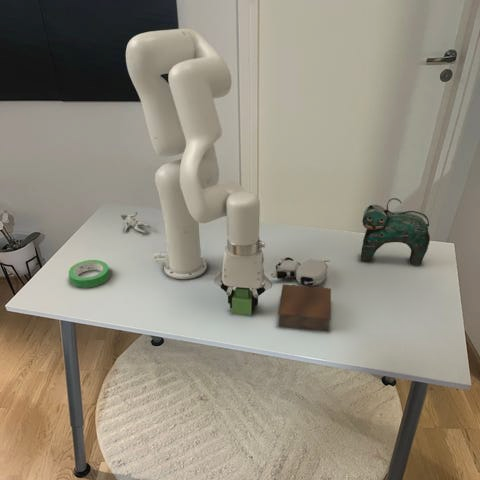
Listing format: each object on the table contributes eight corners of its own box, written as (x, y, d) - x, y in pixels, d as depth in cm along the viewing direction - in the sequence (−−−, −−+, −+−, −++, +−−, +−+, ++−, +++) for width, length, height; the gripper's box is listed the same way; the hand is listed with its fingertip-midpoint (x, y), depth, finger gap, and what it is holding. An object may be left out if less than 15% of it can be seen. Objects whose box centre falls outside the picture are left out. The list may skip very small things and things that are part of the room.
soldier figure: (138, 240, 153) (111, 222, 155) (144, 243, 157) (117, 226, 160) (151, 220, 152) (123, 202, 155) (156, 224, 157) (129, 207, 159)
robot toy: (268, 285, 131) (320, 294, 126) (268, 272, 129) (320, 280, 123) (282, 264, 140) (331, 272, 135) (282, 251, 137) (332, 258, 132)
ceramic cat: (355, 262, 139) (366, 200, 127) (355, 252, 144) (365, 190, 132) (423, 268, 137) (442, 205, 124) (420, 257, 142) (438, 195, 129)
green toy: (232, 313, 120) (231, 290, 115) (235, 302, 124) (235, 279, 119) (251, 315, 119) (251, 292, 115) (253, 303, 123) (254, 281, 119)
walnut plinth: (277, 327, 115) (278, 312, 113) (281, 298, 125) (282, 284, 122) (328, 332, 114) (330, 317, 111) (328, 302, 124) (330, 288, 121)
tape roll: (109, 265, 139) (107, 257, 137) (110, 285, 130) (108, 277, 129) (71, 269, 137) (69, 262, 135) (69, 290, 128) (67, 282, 127)
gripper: (280, 240, 112) (276, 300, 123) (211, 235, 114) (214, 295, 125) (277, 255, 106) (273, 318, 117) (204, 250, 108) (208, 311, 119)
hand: (243, 305), depth 121 cm, fingers closed on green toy, 5 cm apart
